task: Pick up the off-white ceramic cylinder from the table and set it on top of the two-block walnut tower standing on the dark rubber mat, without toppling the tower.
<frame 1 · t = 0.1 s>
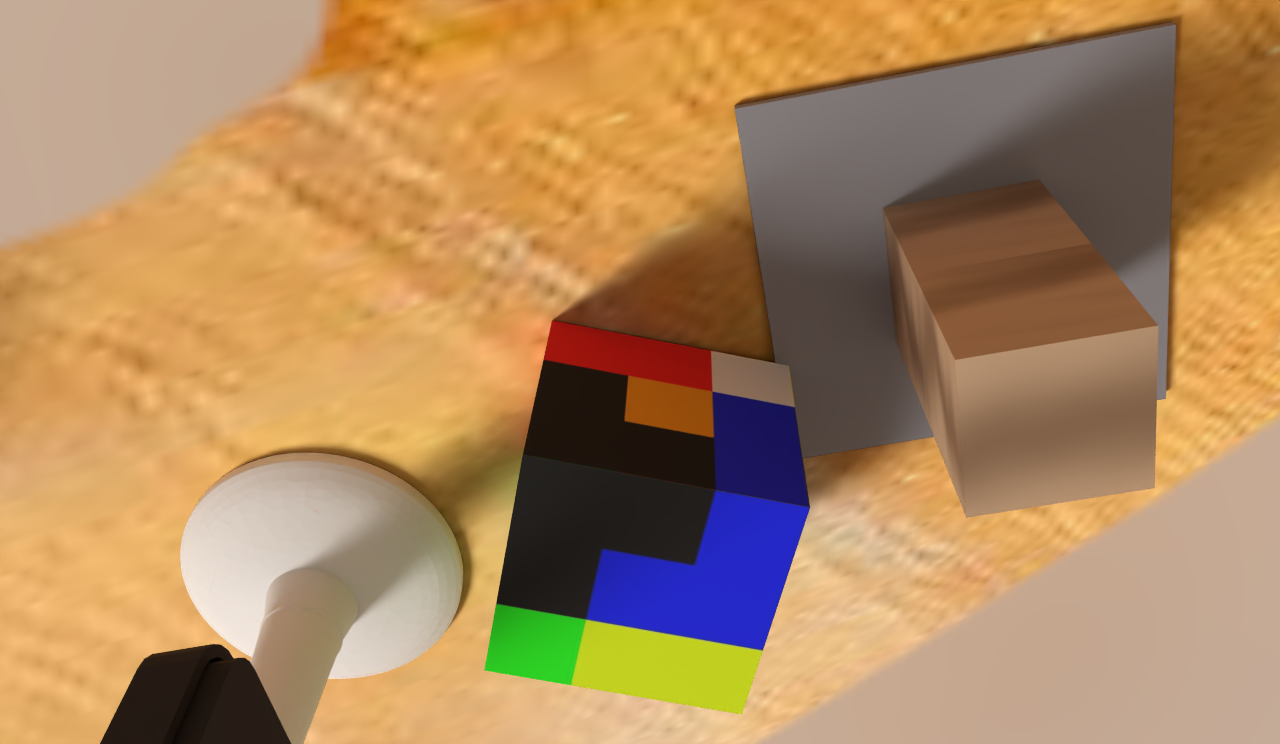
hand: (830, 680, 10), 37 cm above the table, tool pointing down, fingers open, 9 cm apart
tower top: (1005, 334, 43), point 6 cm above the table, touching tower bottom
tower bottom: (964, 263, 48), resting on mat, touching tower top
candlestick: (325, 564, 56), on the table
puzzle toy: (647, 440, 52), on the table, touching mat
mat: (962, 259, 48), on the table
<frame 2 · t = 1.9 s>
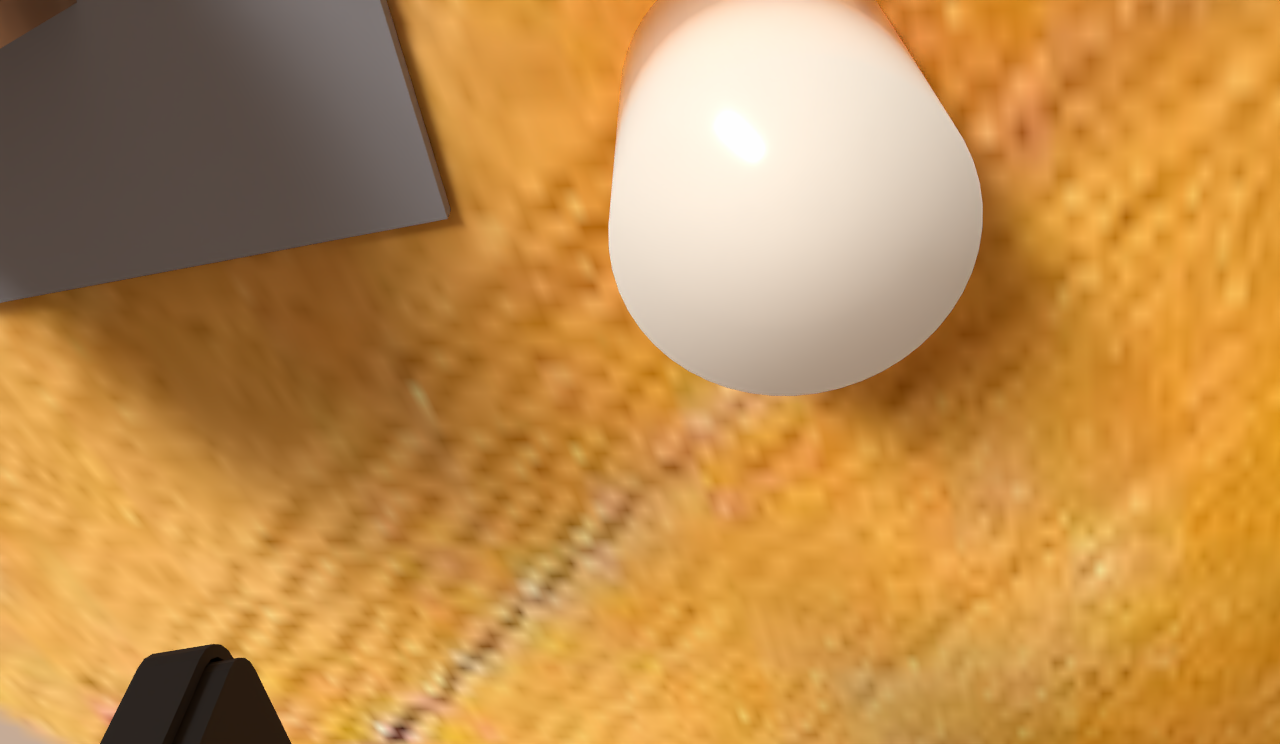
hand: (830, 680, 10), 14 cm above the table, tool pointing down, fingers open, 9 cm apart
ceramic cylinder: (761, 96, 21), on the table
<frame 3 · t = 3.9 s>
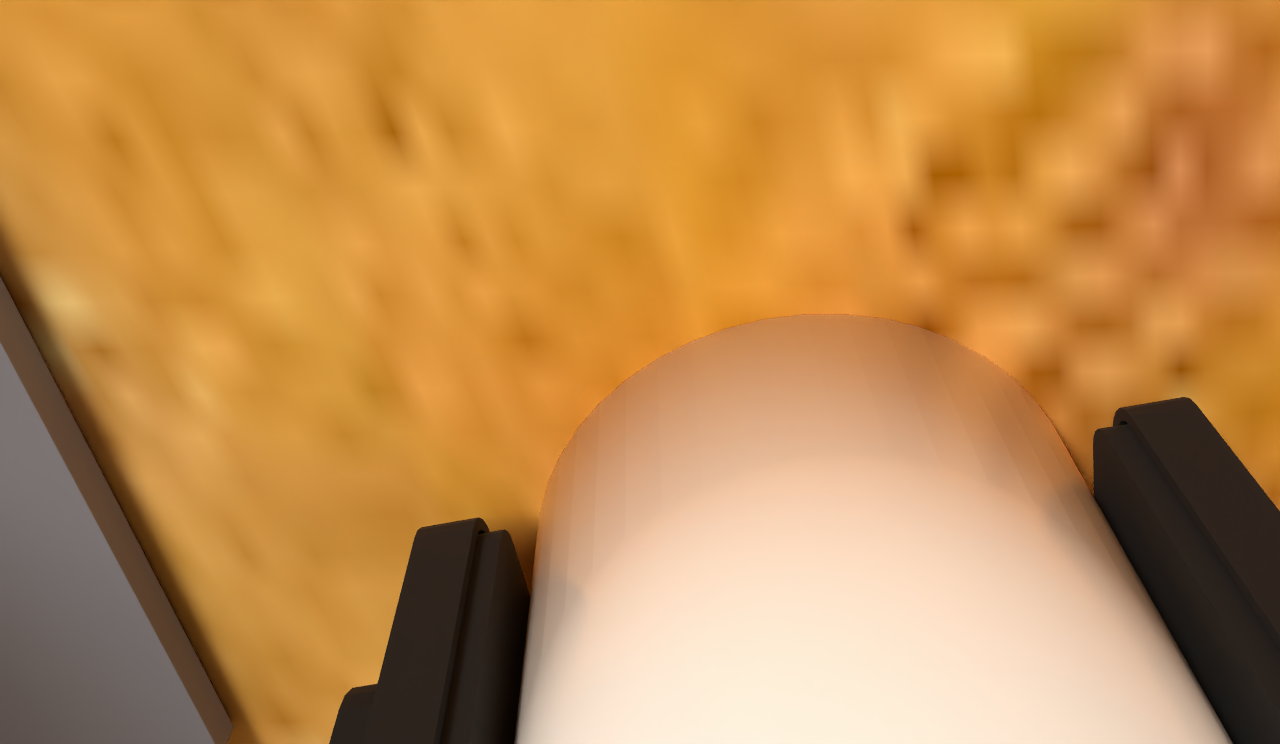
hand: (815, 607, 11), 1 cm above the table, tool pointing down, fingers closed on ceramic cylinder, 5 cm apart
ceramic cylinder: (805, 552, 11), on the table, touching gripper
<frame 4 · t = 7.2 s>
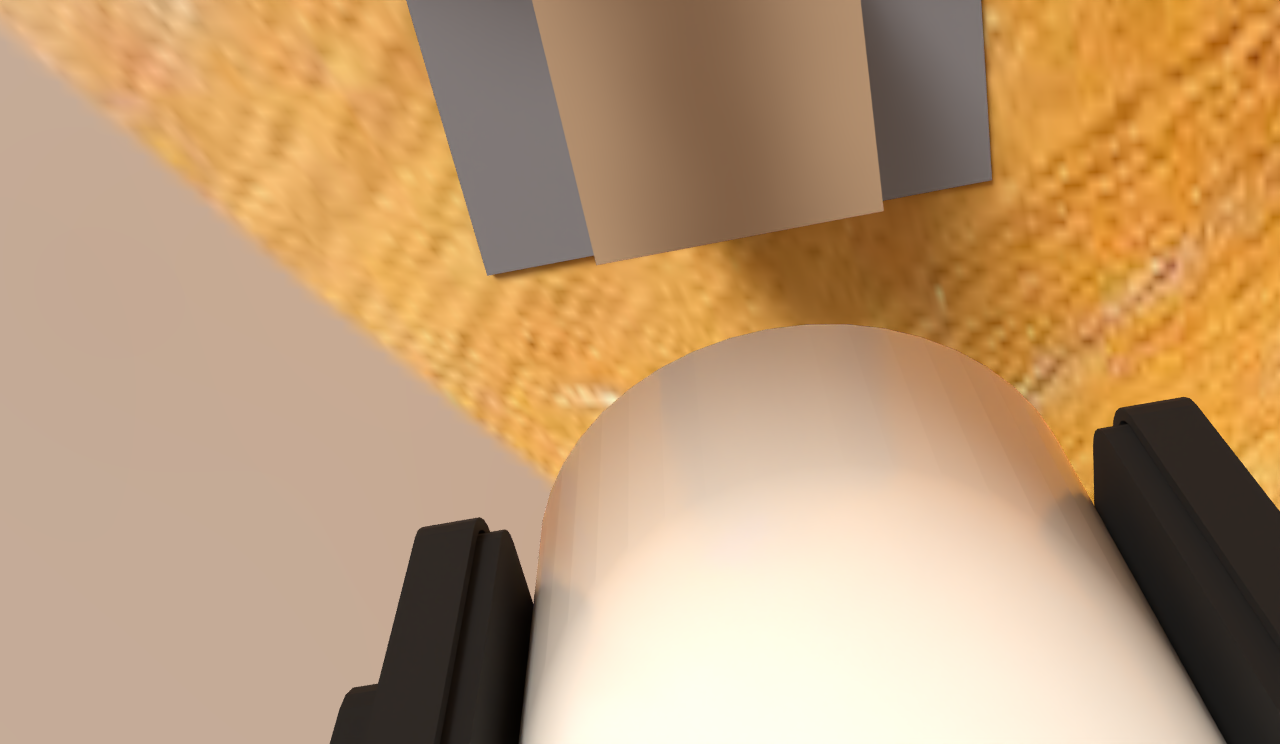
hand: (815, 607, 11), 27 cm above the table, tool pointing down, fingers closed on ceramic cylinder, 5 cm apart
ceramic cylinder: (807, 560, 11), point 26 cm above the table, touching gripper
tower top: (698, 22, 29), point 6 cm above the table, touching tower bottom
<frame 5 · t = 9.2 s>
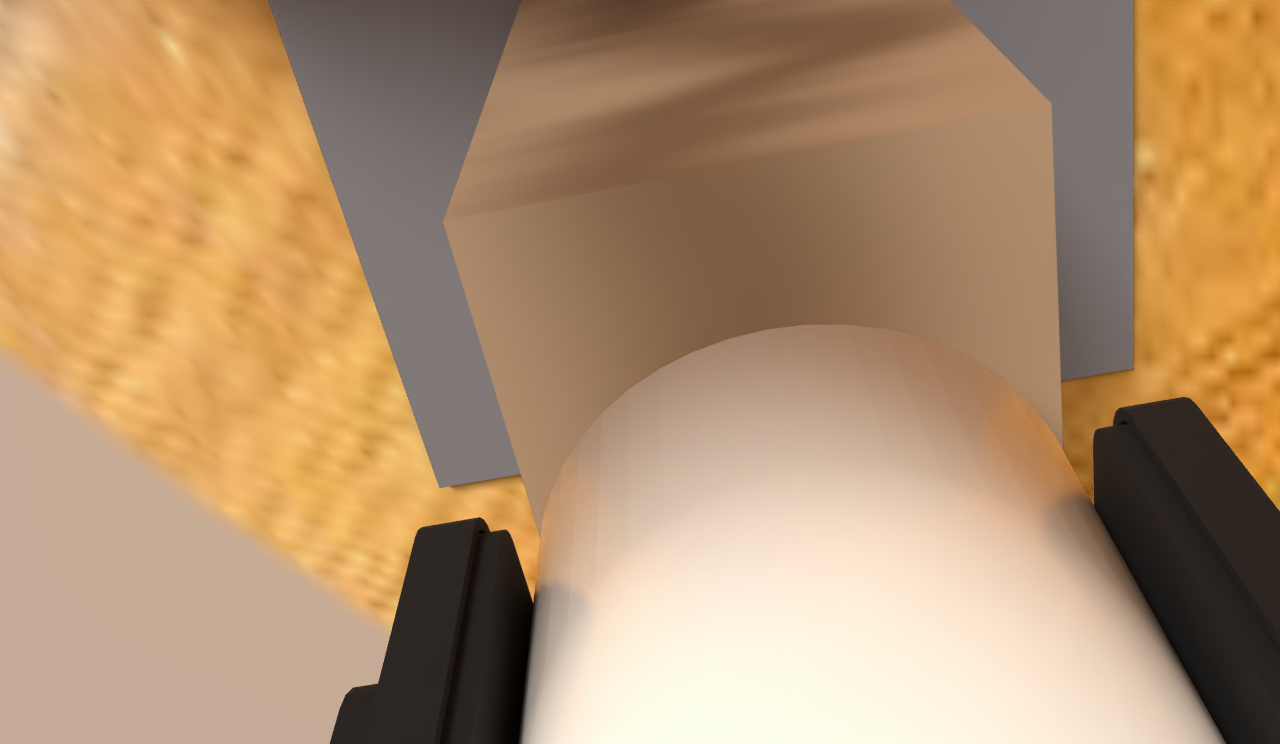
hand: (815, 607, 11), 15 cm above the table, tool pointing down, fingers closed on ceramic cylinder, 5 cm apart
ceramic cylinder: (806, 561, 11), point 15 cm above the table, touching gripper
tower top: (741, 210, 18), point 6 cm above the table, touching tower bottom
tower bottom: (717, 93, 24), resting on mat, touching tower top
mat: (716, 87, 24), on the table
when the fingers open (15 cm above the table, at t = 10.6 s): ceramic cylinder drops 2 cm, resting on tower top.
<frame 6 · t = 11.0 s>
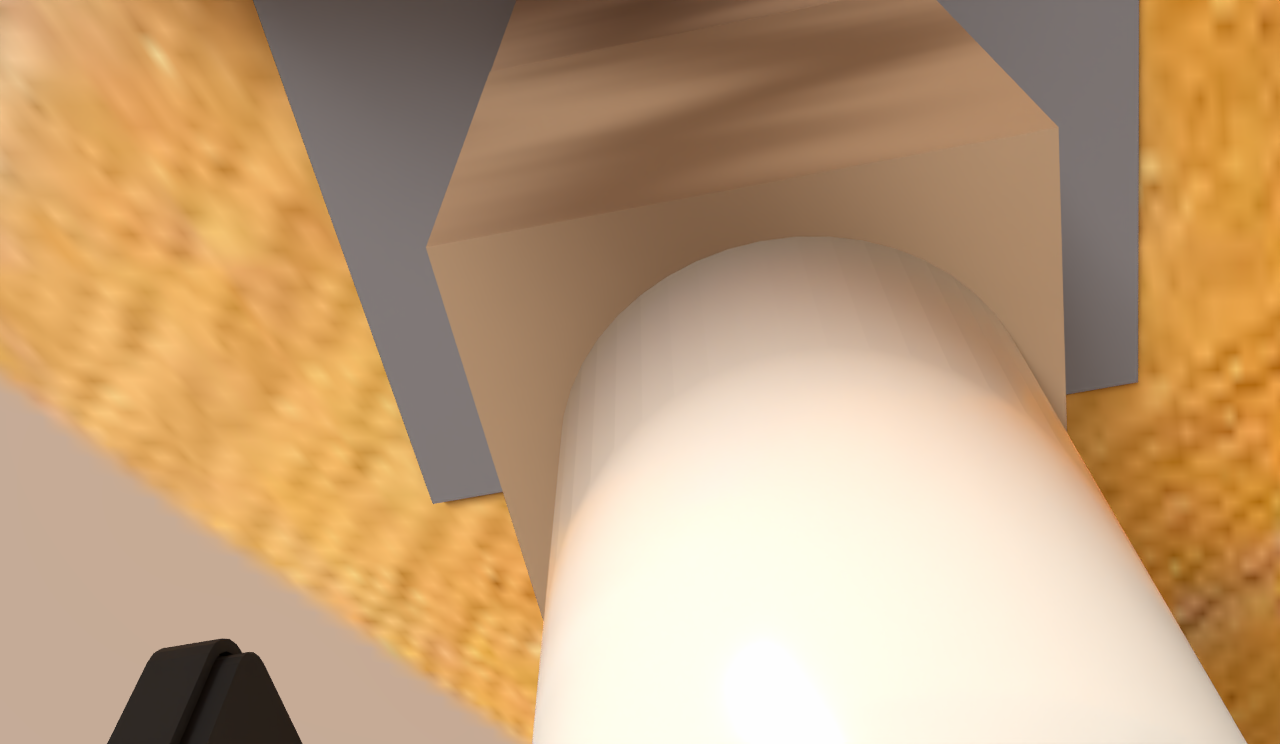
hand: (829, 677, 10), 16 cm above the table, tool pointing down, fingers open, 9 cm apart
ceramic cylinder: (796, 453, 13), point 12 cm above the table, touching tower top
tower top: (736, 227, 18), point 6 cm above the table, touching ceramic cylinder, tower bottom
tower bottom: (713, 104, 23), resting on mat, touching tower top
mat: (714, 97, 23), on the table
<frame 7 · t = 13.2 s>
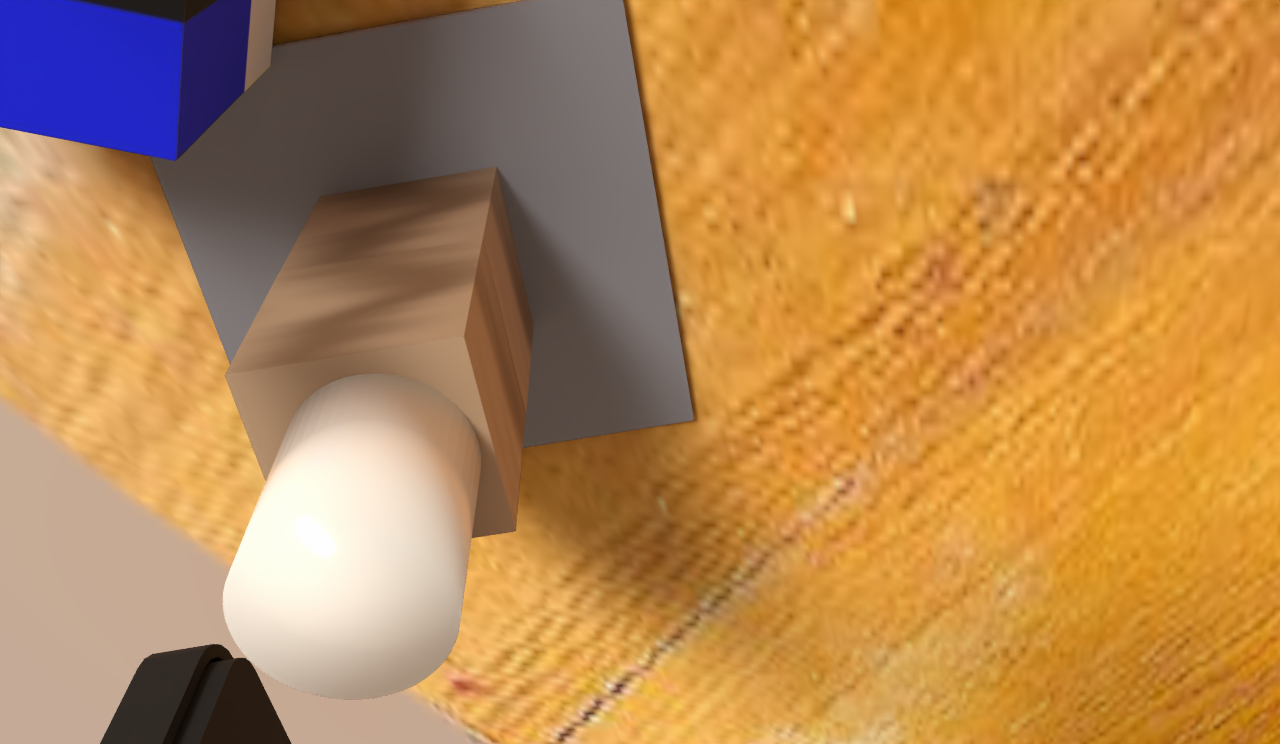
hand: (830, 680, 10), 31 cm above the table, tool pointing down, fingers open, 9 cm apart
ceramic cylinder: (383, 457, 31), point 12 cm above the table, touching tower top
tower top: (406, 346, 36), point 6 cm above the table, touching ceramic cylinder, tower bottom
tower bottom: (430, 263, 41), resting on mat, touching tower top
mat: (432, 257, 42), on the table
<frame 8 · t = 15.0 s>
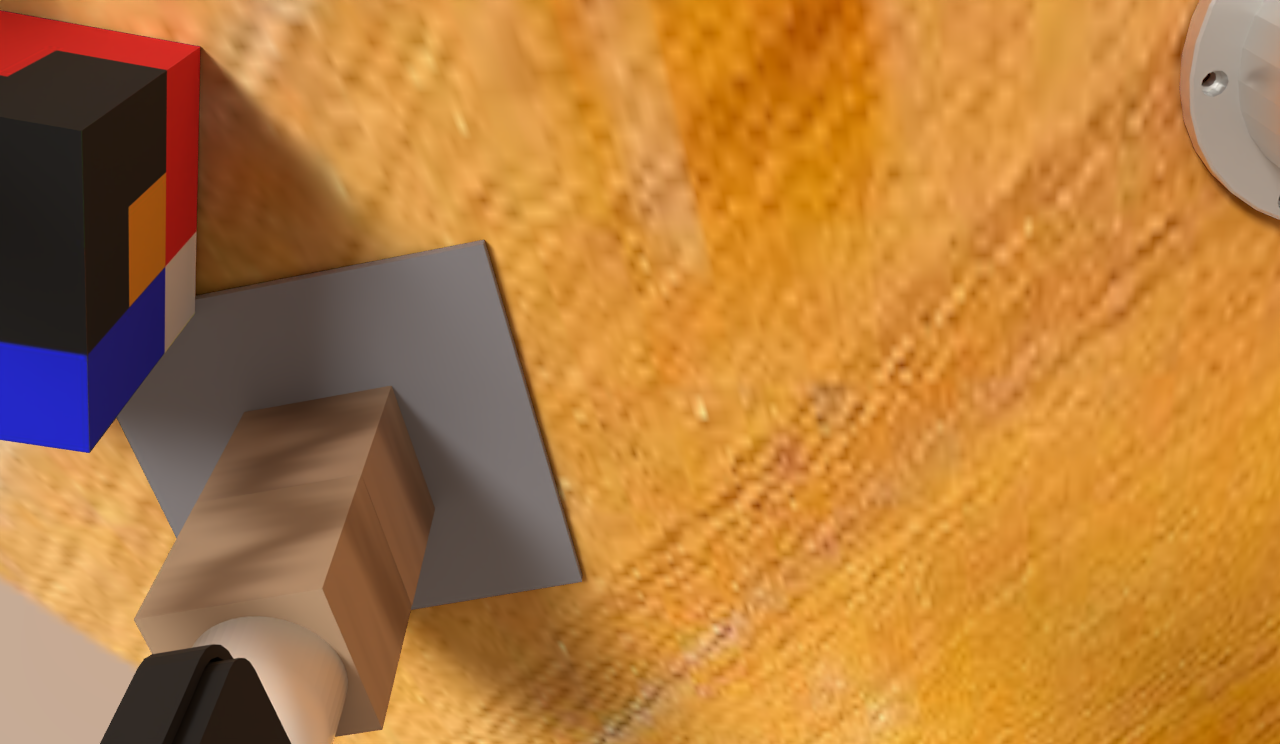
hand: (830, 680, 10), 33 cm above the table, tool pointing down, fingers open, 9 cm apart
ceramic cylinder: (268, 677, 38), point 12 cm above the table, touching tower top
tower top: (306, 556, 43), point 6 cm above the table, touching ceramic cylinder, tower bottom
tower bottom: (342, 461, 48), resting on mat, touching tower top
puzzle toy: (54, 160, 42), on the table, touching mat
mat: (344, 455, 49), on the table
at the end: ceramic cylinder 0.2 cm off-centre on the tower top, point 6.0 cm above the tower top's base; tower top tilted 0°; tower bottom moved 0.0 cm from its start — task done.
